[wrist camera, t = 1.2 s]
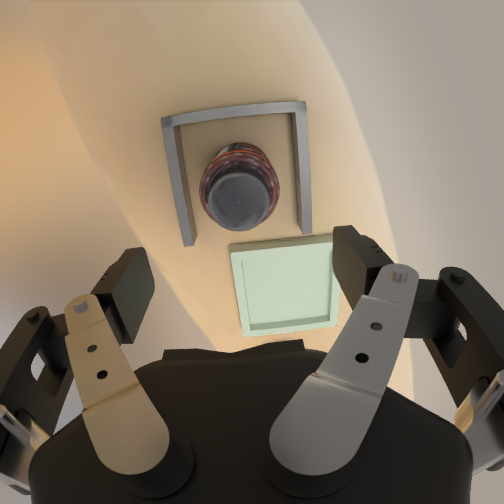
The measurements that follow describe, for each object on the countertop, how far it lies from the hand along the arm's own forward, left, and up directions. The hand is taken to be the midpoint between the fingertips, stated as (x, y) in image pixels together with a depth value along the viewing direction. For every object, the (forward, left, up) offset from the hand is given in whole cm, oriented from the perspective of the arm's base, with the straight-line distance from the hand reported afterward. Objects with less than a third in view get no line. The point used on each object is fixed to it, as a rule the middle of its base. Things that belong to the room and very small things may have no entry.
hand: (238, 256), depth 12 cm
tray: (+14, +4, -18) cm, 23 cm away
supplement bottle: (0, 0, -19) cm, 19 cm away
